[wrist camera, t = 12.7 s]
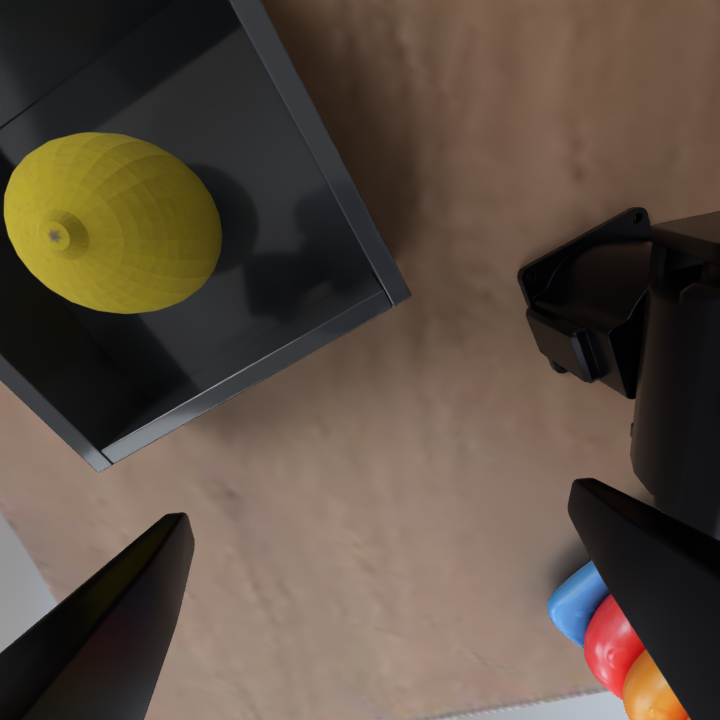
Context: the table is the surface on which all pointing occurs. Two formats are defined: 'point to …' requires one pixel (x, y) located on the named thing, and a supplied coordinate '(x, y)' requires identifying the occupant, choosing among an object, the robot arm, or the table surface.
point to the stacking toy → (612, 646)
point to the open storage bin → (229, 192)
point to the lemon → (112, 222)
